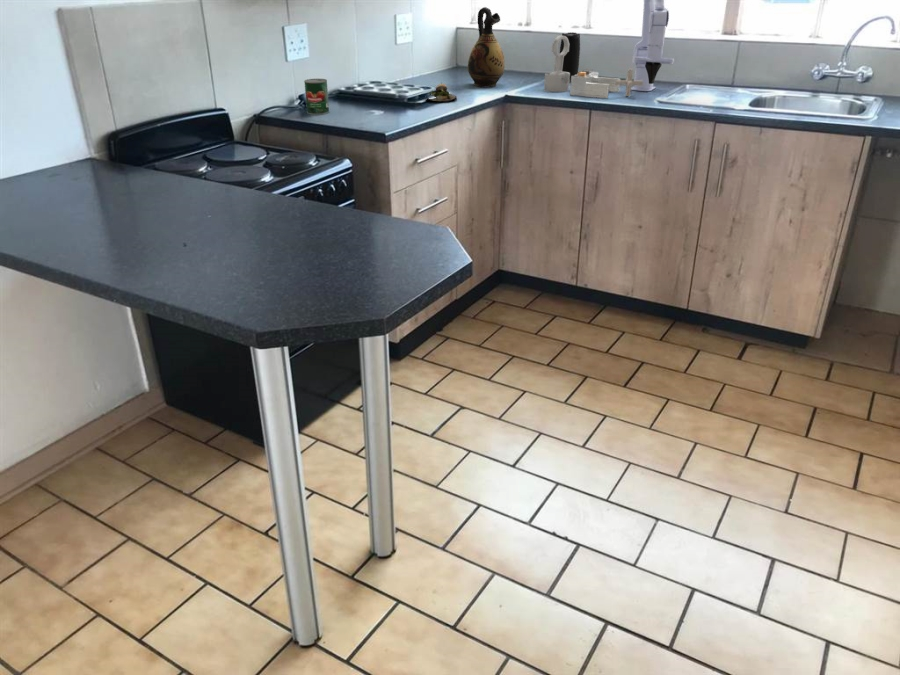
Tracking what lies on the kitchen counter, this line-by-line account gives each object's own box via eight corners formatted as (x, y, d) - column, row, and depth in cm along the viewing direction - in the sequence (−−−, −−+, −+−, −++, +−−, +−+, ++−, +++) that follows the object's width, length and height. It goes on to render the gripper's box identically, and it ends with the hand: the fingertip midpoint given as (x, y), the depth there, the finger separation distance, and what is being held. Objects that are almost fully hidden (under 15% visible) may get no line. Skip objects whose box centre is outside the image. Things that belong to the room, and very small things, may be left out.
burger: (420, 102, 282) (420, 82, 278) (432, 97, 292) (432, 77, 288) (450, 104, 278) (450, 84, 274) (461, 99, 288) (461, 79, 284)
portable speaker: (556, 81, 321) (559, 34, 312) (560, 78, 329) (563, 31, 320) (575, 82, 319) (578, 34, 310) (579, 79, 326) (582, 32, 317)
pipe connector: (639, 94, 294) (642, 67, 289) (642, 98, 285) (645, 71, 280) (613, 93, 295) (616, 67, 290) (616, 98, 286) (618, 71, 281)
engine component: (539, 89, 304) (557, 92, 298) (541, 35, 295) (560, 37, 288) (556, 86, 311) (575, 89, 304) (560, 33, 301) (579, 35, 294)
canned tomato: (310, 115, 261) (307, 82, 256) (304, 111, 267) (301, 79, 262) (332, 113, 264) (329, 81, 258) (326, 109, 270) (323, 77, 265)
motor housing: (583, 88, 305) (584, 67, 301) (619, 91, 299) (621, 70, 295) (569, 95, 292) (570, 73, 289) (606, 98, 286) (608, 76, 282)
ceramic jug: (511, 86, 312) (514, 8, 298) (482, 89, 304) (483, 10, 290) (487, 80, 324) (488, 5, 310) (458, 84, 316) (458, 7, 302)
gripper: (633, 45, 277) (629, 83, 284) (672, 47, 271) (667, 86, 278) (638, 43, 283) (634, 80, 289) (677, 45, 277) (672, 83, 283)
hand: (651, 83), depth 284 cm, fingers closed
